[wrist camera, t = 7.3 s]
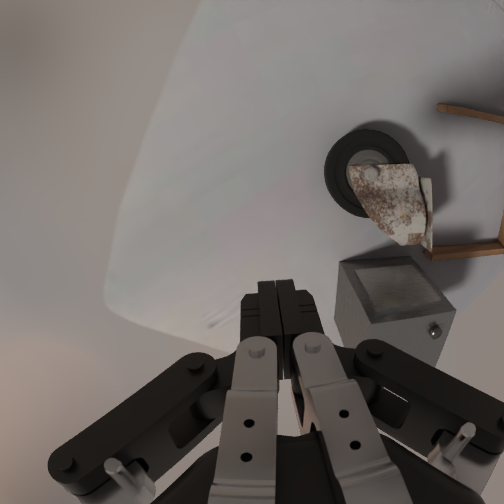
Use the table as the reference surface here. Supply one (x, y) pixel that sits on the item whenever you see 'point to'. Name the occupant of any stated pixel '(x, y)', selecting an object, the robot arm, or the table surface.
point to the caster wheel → (381, 186)
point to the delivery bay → (500, 246)
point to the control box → (392, 307)
